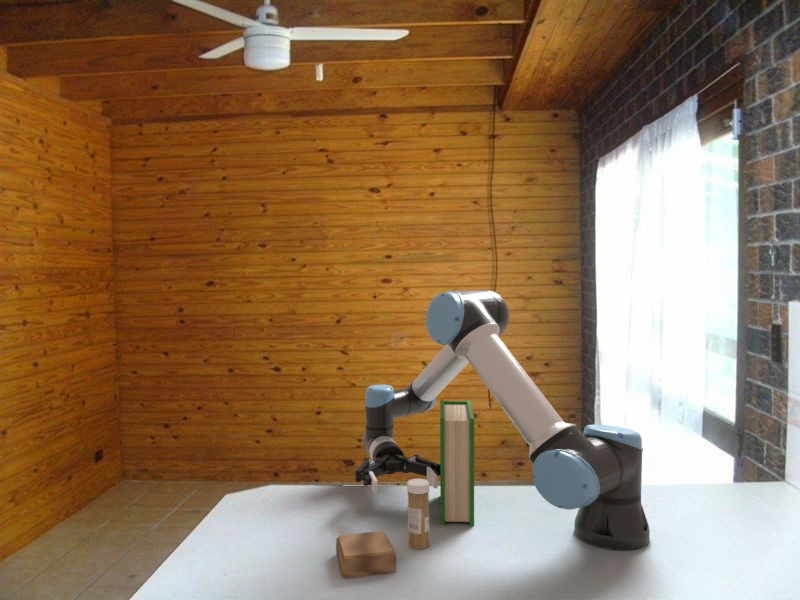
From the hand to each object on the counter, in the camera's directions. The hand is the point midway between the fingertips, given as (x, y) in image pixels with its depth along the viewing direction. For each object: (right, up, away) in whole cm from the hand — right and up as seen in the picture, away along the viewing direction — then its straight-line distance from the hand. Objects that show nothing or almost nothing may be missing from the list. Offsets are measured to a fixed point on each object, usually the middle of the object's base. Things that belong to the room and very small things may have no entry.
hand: (406, 484), depth 140 cm
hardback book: (+12, -9, +9) cm, 18 cm away
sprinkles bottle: (+2, -10, -9) cm, 14 cm away
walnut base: (-8, -10, -17) cm, 21 cm away
